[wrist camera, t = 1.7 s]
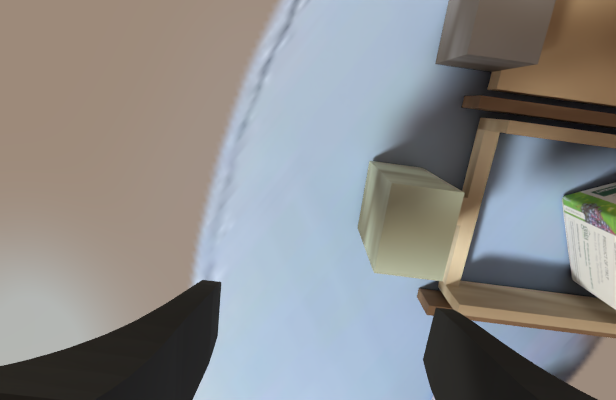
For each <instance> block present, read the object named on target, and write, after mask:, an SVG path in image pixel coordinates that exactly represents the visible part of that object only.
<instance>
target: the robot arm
mask: <svg viewBox="0 0 616 400" xmlns="http://www.w3.org/2000/svg"><path fill="white" fill-rule="evenodd" d="M220 293H221V282H215V281H207V280H202V281H200V282H199V283H197V284H196V285H194V286H192V287H191V288H189V289H188V290H186V291H185V292H183V293H182V294H180V295H179V296H177V297H176V298H174V299H172V300H171V301H169V302H168V303H166V304H164V305H163V306H161V307H159V308H157V309H156V310H154V311H152V312H150V313H149V314H147V315H145V316H143V317H141V318H140V319H138V320H136V321H134V322H132V323H130V324H128V325H126V326H124V327H121V328H119V329H117V330H115V331H112V332H110V333H108V334H105V335H103V336H100V337H98V338H95V339H92V340H89V341H87V342H84V343H81V344H78V345H76V346H73V347H70V348H67V349H64V350H61V351H57V352H54V353H51V354H47V355H44V356H40V357H36V358H33V359H29V360H26V361H22V362H17V363H13V364H8V365H4V366H0V400H192V399H193V397H194V395H195V393H196V391H197V389H198V386H199V384H200V382H201V380H202V378H203V375H204V373H205V371H206V369H207V367H208V364H209V361H210V358H211V355H212V352H213V349H214V346H215V342H216V339H217V336H218V322H219V307H220ZM423 361H424V365H425V369H426V373H427V377H428V380H429V384H430V387H431V390H432V393H433V397H432V400H597V399H595V398H593V397H591V396H589V395H587V394H586V393H583V392H582V391H580V390H578V389H576V388H574V387H573V386H571V385H569V384H567V383H565V382H564V381H562V380H560V379H558V378H557V377H555V376H553V375H551V374H550V373H548V372H546V371H545V370H543V369H541V368H540V367H538V366H537V365H535V364H534V363H532V362H530V361H529V360H527V359H526V358H524V357H523V356H521V355H520V354H518V353H517V352H515V351H514V350H512V349H511V348H509V347H508V346H507V345H505V344H504V343H502V342H501V341H499V340H498V339H497V338H495V337H494V336H492V335H491V334H490V333H488V332H487V331H485V330H484V329H483V328H481V327H480V326H478V325H477V324H476V323H474V322H473V321H471V320H470V319H468V318H467V317H465V316H464V315H462V314H461V313H459V312H457V311H456V310H453V309H445V308H436V309H435V313H434V317H433V321H432V325H431V329H430V333H429V337H428V341H427V345H426V350H425V354H424V358H423Z"/></svg>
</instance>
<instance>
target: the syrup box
mask: <svg viewBox="0 0 616 400" xmlns="http://www.w3.org/2000/svg"><path fill="white" fill-rule="evenodd" d="M562 203H563V212H564V221H565V229H566V238H567V246H568V253H569V260H570V268H571V276H572V280H573V281H575V282H576V283H577V284H579V285H580V286H582V287H583V288H585V289H586V290H587V291H589V292H591V293H592V294H594V295H595V296H597V297H598V298H599V299H601V300H602V301H604V302H605V303H606V304H608V305H609V306H611V307H612V308H614V309H615V310H616V182H615V183H611V184H607V185H603V186H599V187H596V188H592V189H588V190H584V191H581V192H577V193H573V194H570V195H565V196H563V198H562Z"/></svg>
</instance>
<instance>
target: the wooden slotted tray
mask: <svg viewBox="0 0 616 400" xmlns="http://www.w3.org/2000/svg"><path fill="white" fill-rule="evenodd" d="M500 132H501V133H507V134H514V135H522V136H529V137H536V138H544V139H551V140H558V141H565V142H573V143H580V144H587V145H595V146H602V147H609V148H616V135H613V134H606V133H598V132H591V131H584V130H577V129H569V128H562V127H555V126H548V125H540V124H533V123H526V122H519V121H512V120H501V119H490V118H480V121H479V125H478V129H477V133H476V137H475V141H474V145H473V149H472V153H471V157H470V161H469V165H468V169H467V173H466V177H465V181H464V185H463V189H462V191H461V190H459V189H458V188H456V187H454V186H452V185H451V184H449V183H447V182H446V181H444V180H442V179H441V178H439V177H437V176H436V175H434V174H432V173H430V172H429V171H427V170H425V169H424V168H420V167H413V166H405V165H398V164H390V163H383V162H375V161H369V167H368V173H367V178H366V184H365V189H364V195H363V201H362V206H361V212H360V217H359V223H358V230H359V233H360V236H361V238H362V241H363V244H364V247H365V249H366V252H367V255H368V258H369V260H370V263H371V266H372V269H373V271H374V273H380V274H388V275H396V276H404V277H411V278H419V279H427V280H435V281H439V284H438V288H439V289H440V291H441V292H442V294H443V295H444V296H445V298H446V299H447V301H448V302H449V304H450V305H451V307H452V308H453V310H456V311H457V312H459V313H461V314H462V315H465V316H473V317H481V318H489V319H497V320H505V321H513V322H521V323H530V324H538V325H546V326H554V327H562V328H570V329H578V330H586V331H594V332H602V333H610V334H616V310H615V309H614V308H612V307H611V306H609V305H608V304H606V303H605V302H604V301H602V300H601V299H599V298H594V297H587V296H579V295H571V294H563V293H555V292H547V291H539V290H531V289H523V288H515V287H508V286H500V285H492V284H484V283H476V282H468V281H461V277H462V273H463V269H464V266H465V262H466V258H467V254H468V251H469V247H470V243H471V239H472V236H473V232H474V228H475V224H476V221H477V217H478V213H479V210H480V206H481V202H482V198H483V195H484V191H485V187H486V183H487V180H488V176H489V172H490V168H491V165H492V161H493V157H494V153H495V150H496V146H497V142H498V139H499V135H500Z"/></svg>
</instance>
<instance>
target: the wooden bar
mask: <svg viewBox="0 0 616 400" xmlns="http://www.w3.org/2000/svg"><path fill="white" fill-rule="evenodd" d="M435 64H439V65H446V66H453V67H460V68H467V69H474V70H482V71H489V72H492V73H491V77H490V81H489V85H488V89H487V90H492V91H500V92H507V93H514V94H521V95H528V96H535V97H542V98H550V99H557V100H564V101H571V102H578V103H585V104H592V105H600V106H607V107H614V108H616V0H449V2H448V7H447V11H446V16H445V21H444V26H443V30H442V35H441V40H440V45H439V49H438V54H437V59H436V63H435Z"/></svg>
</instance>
